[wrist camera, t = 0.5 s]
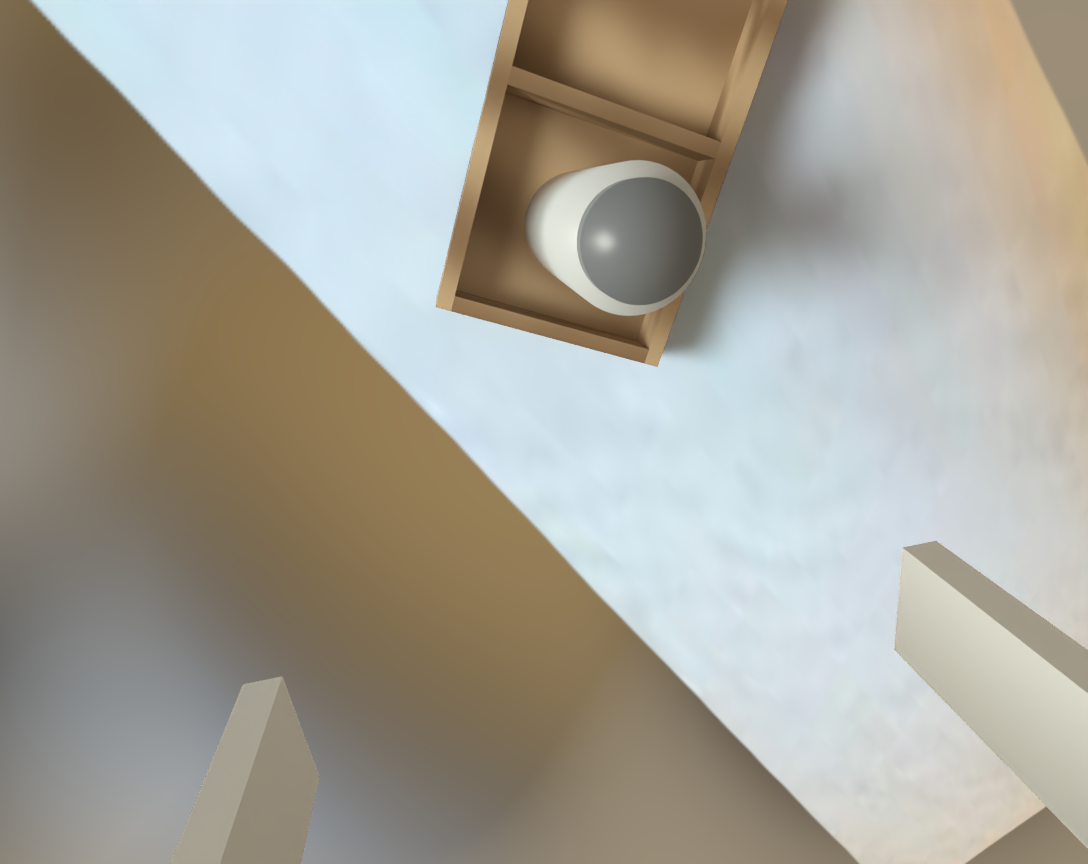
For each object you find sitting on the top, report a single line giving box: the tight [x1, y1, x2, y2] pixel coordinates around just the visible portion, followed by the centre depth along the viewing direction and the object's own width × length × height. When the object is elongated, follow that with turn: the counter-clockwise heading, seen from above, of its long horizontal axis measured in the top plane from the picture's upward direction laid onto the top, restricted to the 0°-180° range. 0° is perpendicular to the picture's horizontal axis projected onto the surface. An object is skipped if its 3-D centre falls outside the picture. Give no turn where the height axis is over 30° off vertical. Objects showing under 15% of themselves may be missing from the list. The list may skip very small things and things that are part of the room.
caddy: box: [436, 0, 788, 367], centre depth 33 cm, size 23×13×3 cm, turn 164°
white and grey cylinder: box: [525, 160, 706, 316], centre depth 29 cm, size 6×6×13 cm
